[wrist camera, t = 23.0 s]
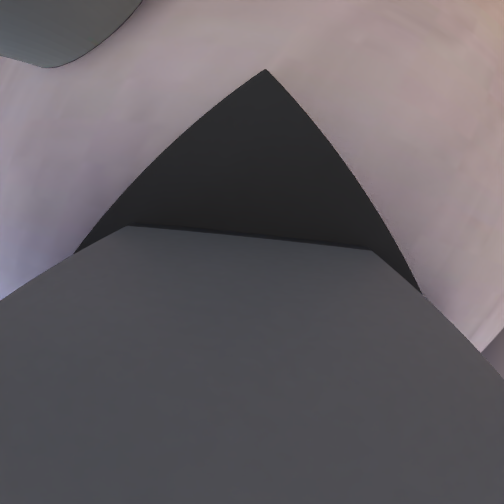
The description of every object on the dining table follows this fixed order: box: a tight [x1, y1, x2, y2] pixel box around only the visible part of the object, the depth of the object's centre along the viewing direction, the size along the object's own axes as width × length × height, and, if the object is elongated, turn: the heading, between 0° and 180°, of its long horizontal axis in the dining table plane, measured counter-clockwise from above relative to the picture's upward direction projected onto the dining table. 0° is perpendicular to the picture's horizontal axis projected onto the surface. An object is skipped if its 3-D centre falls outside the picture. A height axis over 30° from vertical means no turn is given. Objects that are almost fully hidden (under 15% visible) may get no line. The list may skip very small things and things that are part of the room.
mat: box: [73, 69, 422, 294], centre depth 12 cm, size 15×15×1 cm
